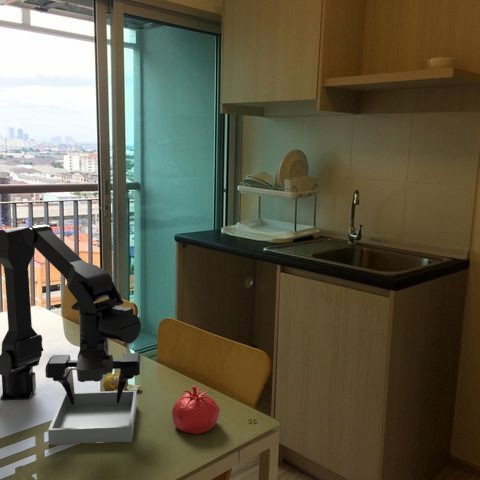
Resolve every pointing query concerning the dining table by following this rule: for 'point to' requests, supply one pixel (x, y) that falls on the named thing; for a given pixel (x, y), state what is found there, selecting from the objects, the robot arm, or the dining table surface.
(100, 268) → the robot arm
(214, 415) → the pomegranate
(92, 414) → the serving bin
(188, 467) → the dining table surface
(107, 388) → the fruit
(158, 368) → the dining table surface
